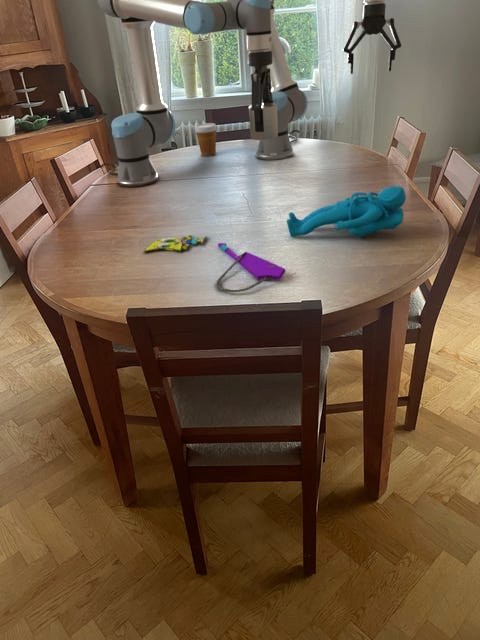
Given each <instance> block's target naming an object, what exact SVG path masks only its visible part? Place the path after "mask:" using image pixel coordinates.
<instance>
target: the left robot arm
mask: <svg viewBox="0 0 480 640" xmlns="http://www.w3.org/2000/svg"><path fill="white" fill-rule="evenodd" d="M97 3H98V5H99V7H100V9H101V10H102V11H103V13H104V14H106V15H108V16H109V17H112V18H119V19H120V21H121V25H122V26H123V27H124V28H126V31H127V36H128V42H129V50H130V55H131V61H132V67H133V72H134V74H133V75H134V79H135V85H136V91H137V98H138V105H137V107H136V108H135V110H136V112H129V113H126V114H122V115H120V116H117V117H115V118H114V119H113V120H112V122H111V124H110V125H111V135H112V138H113V142H114V146H115V151H116V155H117V160H118V165H117V164H114V163H110V162H103V163H102V164H101V165H100V168H103V167H104V166H111V167H114V168H111V169H110V170H109V171H108V174H109V175H112V176H117V179H116V180H117V183H118V186H120V187H123V188H124V187H125V188H136V187H137V188H138V187H145V186H147V185H148V186H149V185H151V184H154V183H156V182H157V181H158V180H159V176H158V172H157V169H156V168H155V166H154V163H153V161H152V159H151V156H150V151H149V149H151V148H152V147H155V146H158V145H163V144H165V143H166V142H169V141H170V140H171V139H173V137H174V136H175V133H176V126H177V125H176V124H177V123H176V119H175V117H174V115H172V112H171V111H170V110H168V105H167V104H166V103H164V101H163V96H162V88H161V83H160V74H159V67H158V62H157V61H158V59H157V54H156V46H155V40H154V31H153V26H154V24H155V23H157V24H160V25H161V24H162V25H164V26H165V25H166V26H171V27H174V28H179V29H183V30H188V31H189V32H190V33H191V34H192V35H196V36H205V35H209V34H215V33H222V32H228V31H229V32H230V31H238V30H245V31H246V32H245V33H246V50H247V52H248V53H247V65H248V66H249V67H252V68H254V70H253V73H251V74H250V79H251V82H250V83H251V105H252V107H251V111H254V119H255V132H264V123H263V110H262V98H263V103H273V100H272V99H273V98H272V85H271V79H270V68H269V69H267V65H271V64H272V52H271V51H270V49H271V48H272V42H271V41H273V37H271V6H270V0H240V1H227V0H226V1H216V2H215V1H213V2H202V1H197V0H97ZM117 169H118V170H117ZM115 170H117V172H114V171H115Z"/></svg>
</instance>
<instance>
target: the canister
mask: <svg viewBox="0 0 480 640" xmlns="http://www.w3.org/2000/svg"><path fill="white" fill-rule="evenodd" d="M251 107H252V104H250V105H249V106H248V113H249V114H248V116H249V130H250V131H249V132H250V140H254V141H259V140H270V139H274V138H276V137H278V124H277V104H275V103H262V110H263V123H264V132H255V119H254V111H251Z"/></svg>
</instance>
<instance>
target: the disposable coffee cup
mask: <svg viewBox="0 0 480 640" xmlns="http://www.w3.org/2000/svg"><path fill="white" fill-rule="evenodd" d="M217 128H218V127H217V125H216V123H214V122H207V123H206V122H205V123H199V124H196V125H195V126H194V131H195V133H196V138H197V142H198V146H199V150H200V154H201V157H210V156H211V157H212V156H215V155H216V153H217V150H216V149H217Z"/></svg>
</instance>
